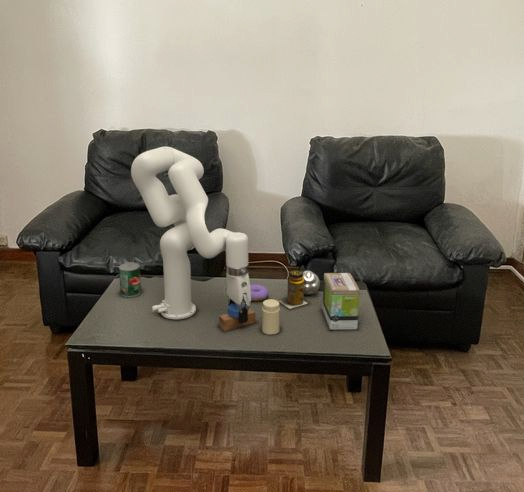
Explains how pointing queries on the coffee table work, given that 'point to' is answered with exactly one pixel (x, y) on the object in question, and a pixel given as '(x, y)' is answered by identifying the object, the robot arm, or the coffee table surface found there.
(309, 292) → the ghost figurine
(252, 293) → the donut
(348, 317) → the tea box
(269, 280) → the coffee table surface
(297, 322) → the coffee table surface
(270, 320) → the jar
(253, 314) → the block
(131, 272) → the canned tomato
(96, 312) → the coffee table surface
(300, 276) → the condiment
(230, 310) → the lid
